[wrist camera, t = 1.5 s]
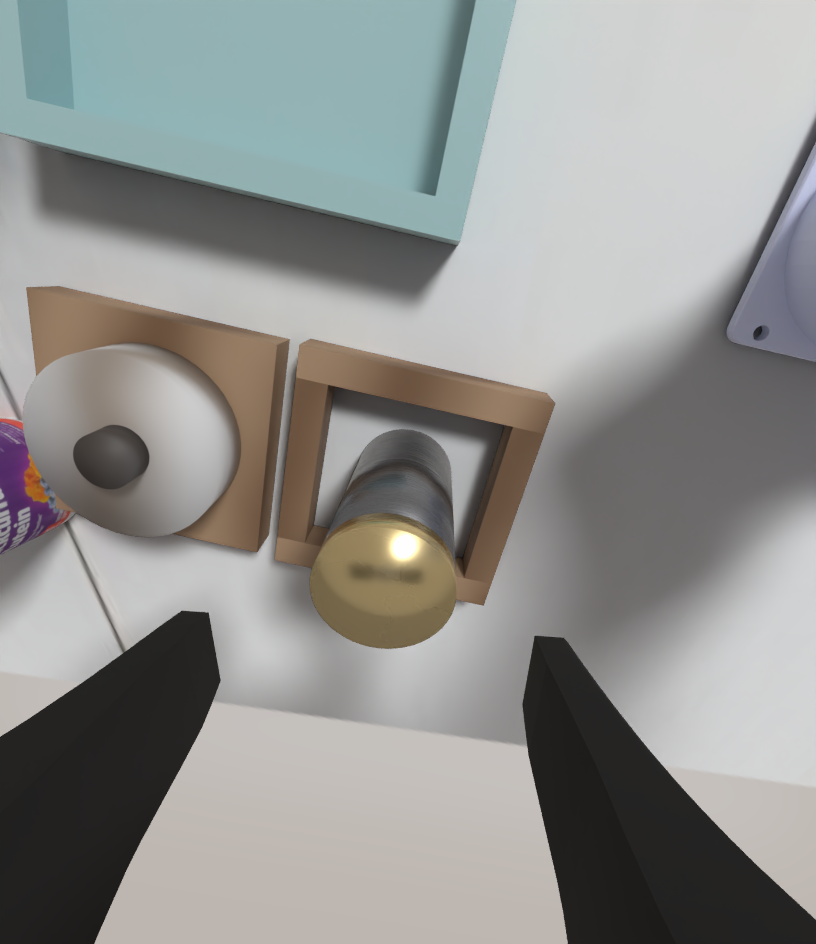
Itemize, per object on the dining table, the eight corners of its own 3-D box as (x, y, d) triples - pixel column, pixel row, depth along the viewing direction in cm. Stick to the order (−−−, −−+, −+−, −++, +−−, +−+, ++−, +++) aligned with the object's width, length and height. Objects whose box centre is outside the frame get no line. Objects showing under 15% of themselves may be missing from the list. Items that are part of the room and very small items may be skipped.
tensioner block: (546, 393, 18) (577, 429, 14) (480, 584, 22) (489, 657, 18) (57, 280, 18) (-60, 283, 14) (76, 495, 21) (-10, 549, 17)
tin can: (461, 441, 19) (473, 546, 12) (438, 523, 21) (437, 660, 13) (367, 419, 19) (320, 512, 12) (351, 503, 21) (301, 632, 13)
